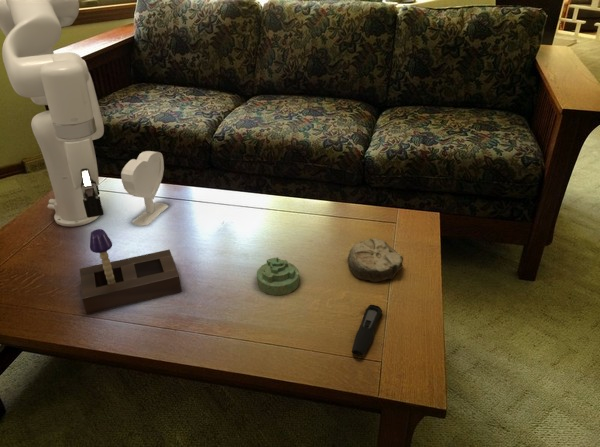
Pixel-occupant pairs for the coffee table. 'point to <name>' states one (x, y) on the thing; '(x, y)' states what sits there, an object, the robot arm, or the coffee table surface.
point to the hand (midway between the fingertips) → (93, 205)
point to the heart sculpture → (145, 183)
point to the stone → (374, 260)
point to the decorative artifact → (277, 277)
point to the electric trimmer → (366, 330)
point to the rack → (129, 281)
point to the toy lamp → (102, 251)
